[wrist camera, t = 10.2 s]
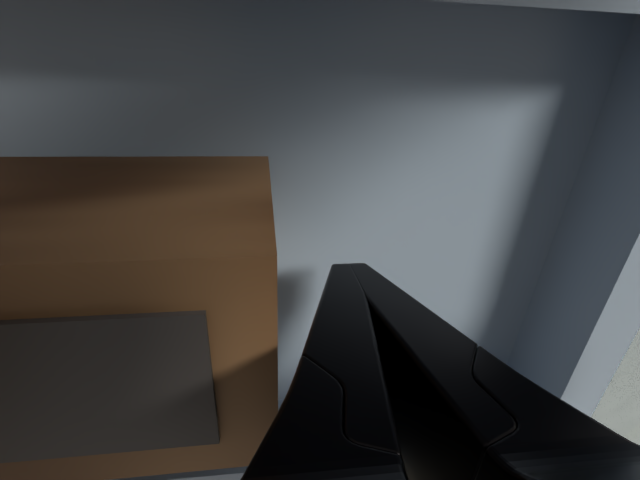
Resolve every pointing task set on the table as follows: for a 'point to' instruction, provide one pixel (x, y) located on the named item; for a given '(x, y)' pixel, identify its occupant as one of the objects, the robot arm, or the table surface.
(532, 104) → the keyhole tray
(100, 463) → the bar
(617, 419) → the table surface
